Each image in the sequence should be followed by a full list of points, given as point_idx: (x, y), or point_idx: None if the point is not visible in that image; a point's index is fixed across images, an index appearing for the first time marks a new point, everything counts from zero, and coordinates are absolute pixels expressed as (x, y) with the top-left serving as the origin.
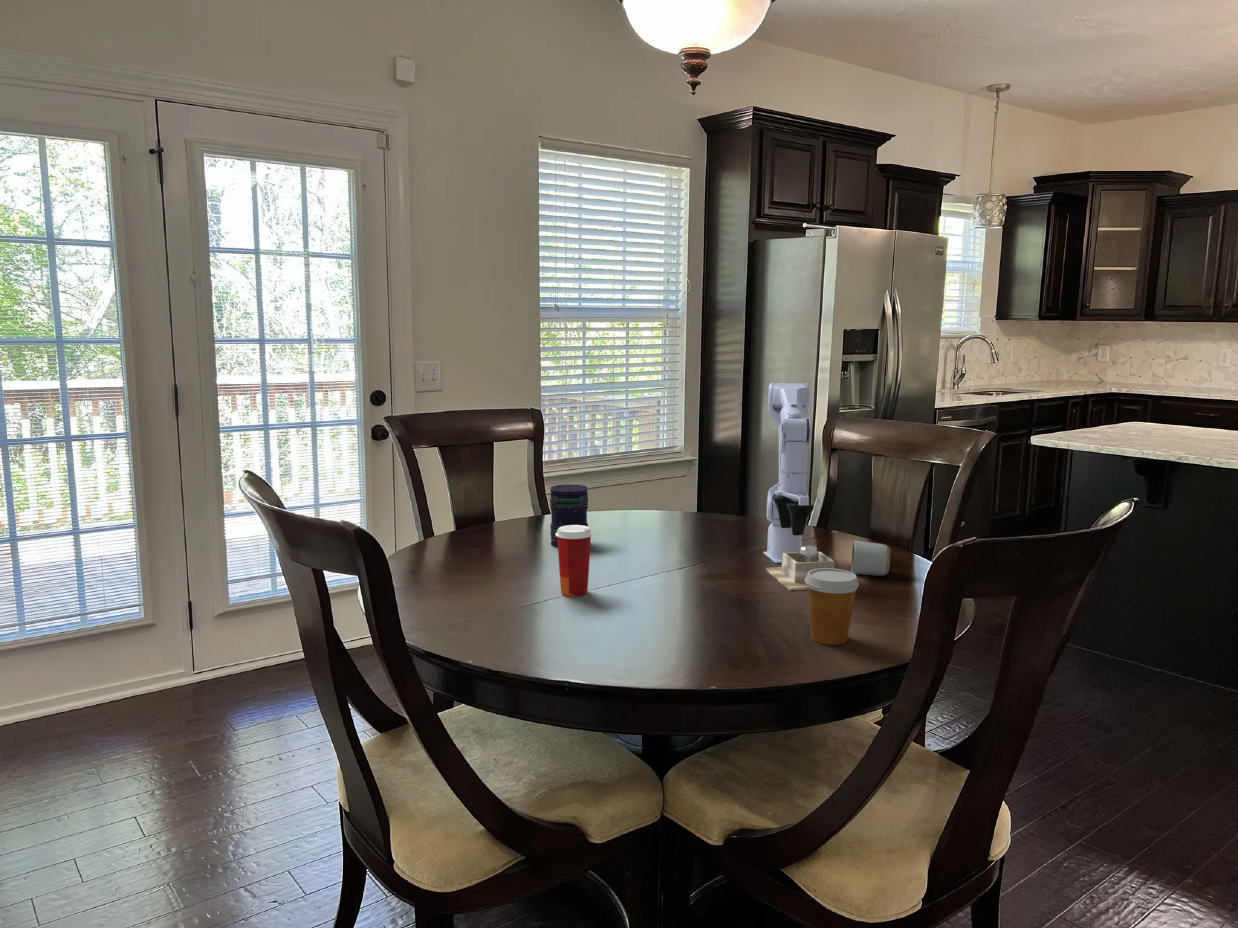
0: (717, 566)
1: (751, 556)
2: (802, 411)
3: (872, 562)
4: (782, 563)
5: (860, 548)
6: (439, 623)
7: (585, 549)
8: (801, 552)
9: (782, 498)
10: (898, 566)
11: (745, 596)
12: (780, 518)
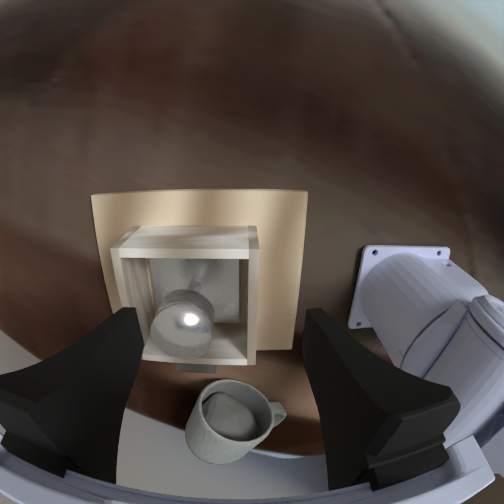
0: (372, 63)
1: (441, 207)
2: None
3: (189, 420)
4: (249, 234)
5: (204, 434)
6: None
7: None
8: (174, 301)
9: (367, 460)
10: (268, 439)
11: (68, 70)
12: (325, 335)
